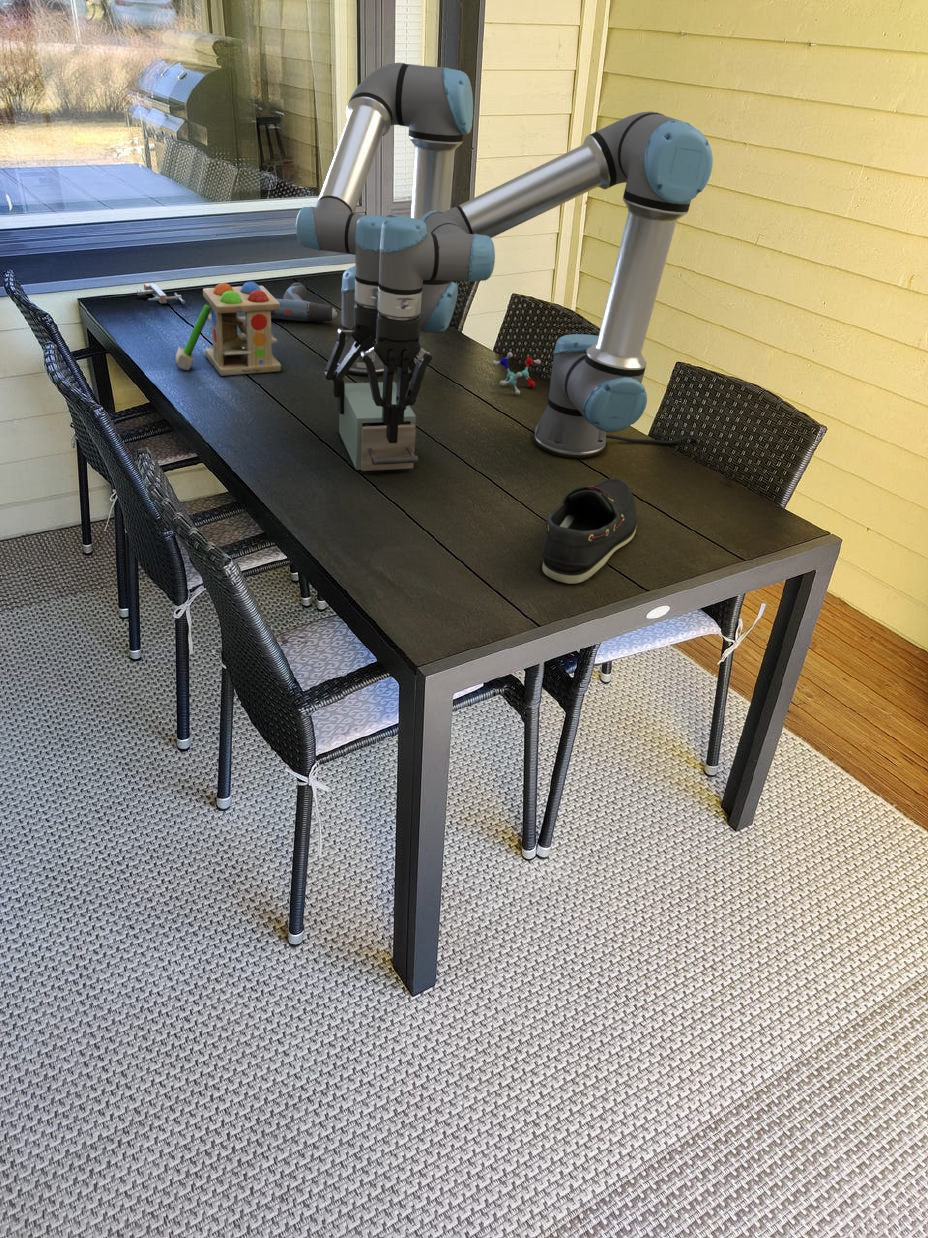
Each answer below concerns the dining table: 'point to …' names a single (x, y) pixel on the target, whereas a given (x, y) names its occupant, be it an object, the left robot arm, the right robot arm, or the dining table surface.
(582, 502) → the boat shoe
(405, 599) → the dining table surface
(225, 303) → the pounding bench toy
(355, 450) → the cabinet
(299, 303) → the power drill
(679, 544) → the dining table surface
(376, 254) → the left robot arm
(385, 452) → the drawer
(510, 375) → the molecular model
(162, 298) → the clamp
